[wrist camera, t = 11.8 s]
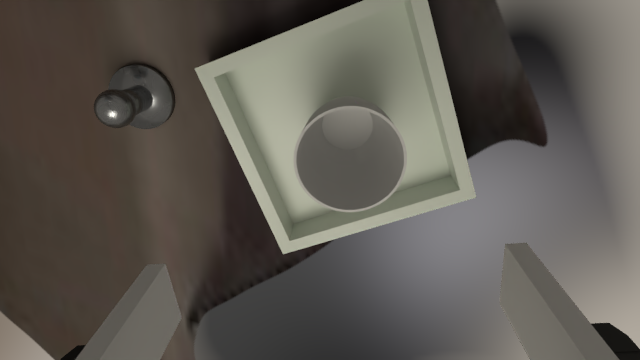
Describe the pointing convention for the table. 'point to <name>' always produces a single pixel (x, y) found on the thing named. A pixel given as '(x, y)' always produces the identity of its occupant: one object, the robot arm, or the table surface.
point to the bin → (332, 82)
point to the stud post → (136, 98)
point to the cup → (350, 155)
